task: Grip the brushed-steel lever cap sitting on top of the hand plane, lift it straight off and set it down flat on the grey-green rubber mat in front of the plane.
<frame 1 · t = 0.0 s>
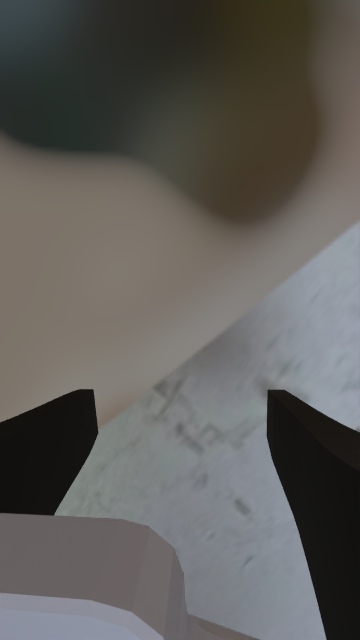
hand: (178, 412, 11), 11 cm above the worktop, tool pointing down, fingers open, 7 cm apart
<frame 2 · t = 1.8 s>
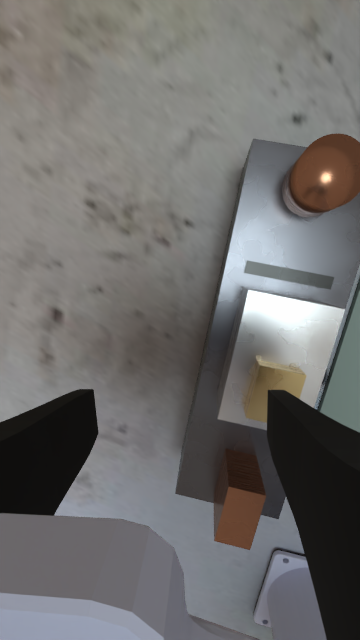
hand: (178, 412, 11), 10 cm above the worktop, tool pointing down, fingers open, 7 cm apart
hand plane: (255, 334, 21), on the worktop
lever cap: (267, 352, 17), point 4 cm above the worktop, touching hand plane
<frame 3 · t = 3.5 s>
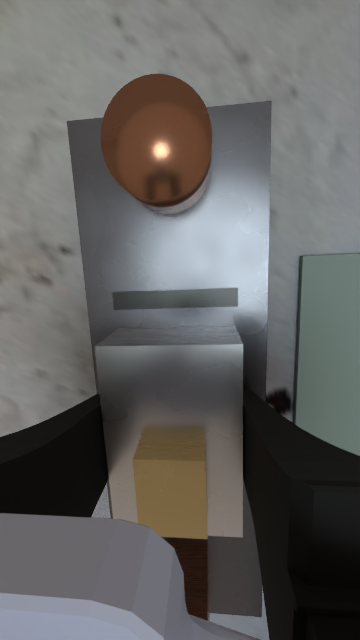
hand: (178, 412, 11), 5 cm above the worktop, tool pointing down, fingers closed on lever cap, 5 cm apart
hand plane: (187, 368, 16), on the worktop
lever cap: (179, 408, 12), point 4 cm above the worktop, touching gripper, hand plane
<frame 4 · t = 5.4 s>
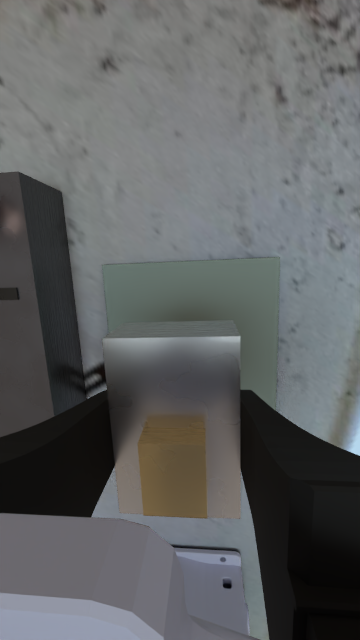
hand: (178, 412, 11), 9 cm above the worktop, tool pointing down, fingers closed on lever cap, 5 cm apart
rubber mat: (191, 345, 21), on the worktop
hand plane: (36, 347, 22), on the worktop
lever cap: (180, 399, 12), point 8 cm above the worktop, touching gripper
when the fingers open (2 cm above the worktop, at t = 7.5 s): lever cap drops 1 cm, resting on rubber mat.
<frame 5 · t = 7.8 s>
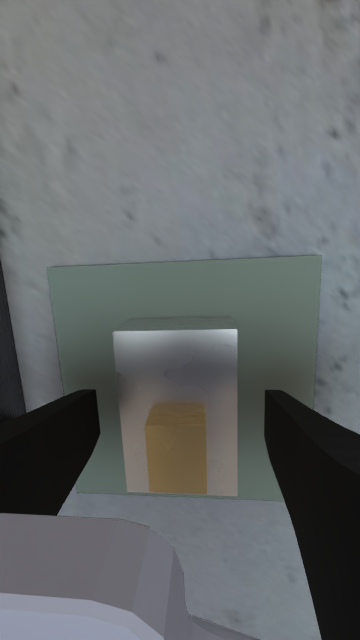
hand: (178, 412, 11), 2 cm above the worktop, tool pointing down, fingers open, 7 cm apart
rubber mat: (183, 386, 14), on the worktop
lever cap: (182, 389, 13), resting on rubber mat
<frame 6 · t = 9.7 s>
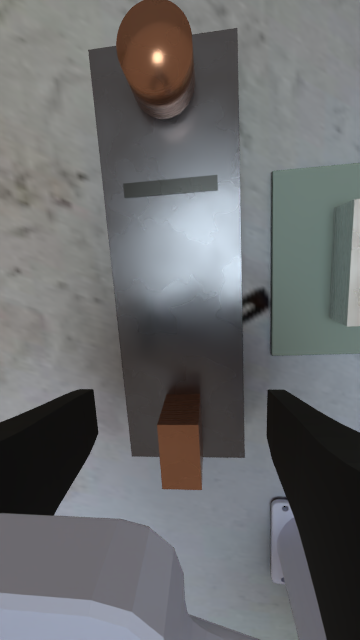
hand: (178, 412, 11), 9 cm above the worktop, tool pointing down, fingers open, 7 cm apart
hand plane: (182, 274, 20), on the worktop
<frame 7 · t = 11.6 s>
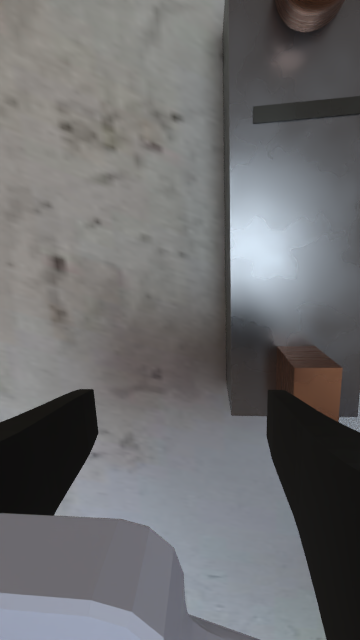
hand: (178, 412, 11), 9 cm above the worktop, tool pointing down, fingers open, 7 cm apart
hand plane: (279, 225, 18), on the worktop
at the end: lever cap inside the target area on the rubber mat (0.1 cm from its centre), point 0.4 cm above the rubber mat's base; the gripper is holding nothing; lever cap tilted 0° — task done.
